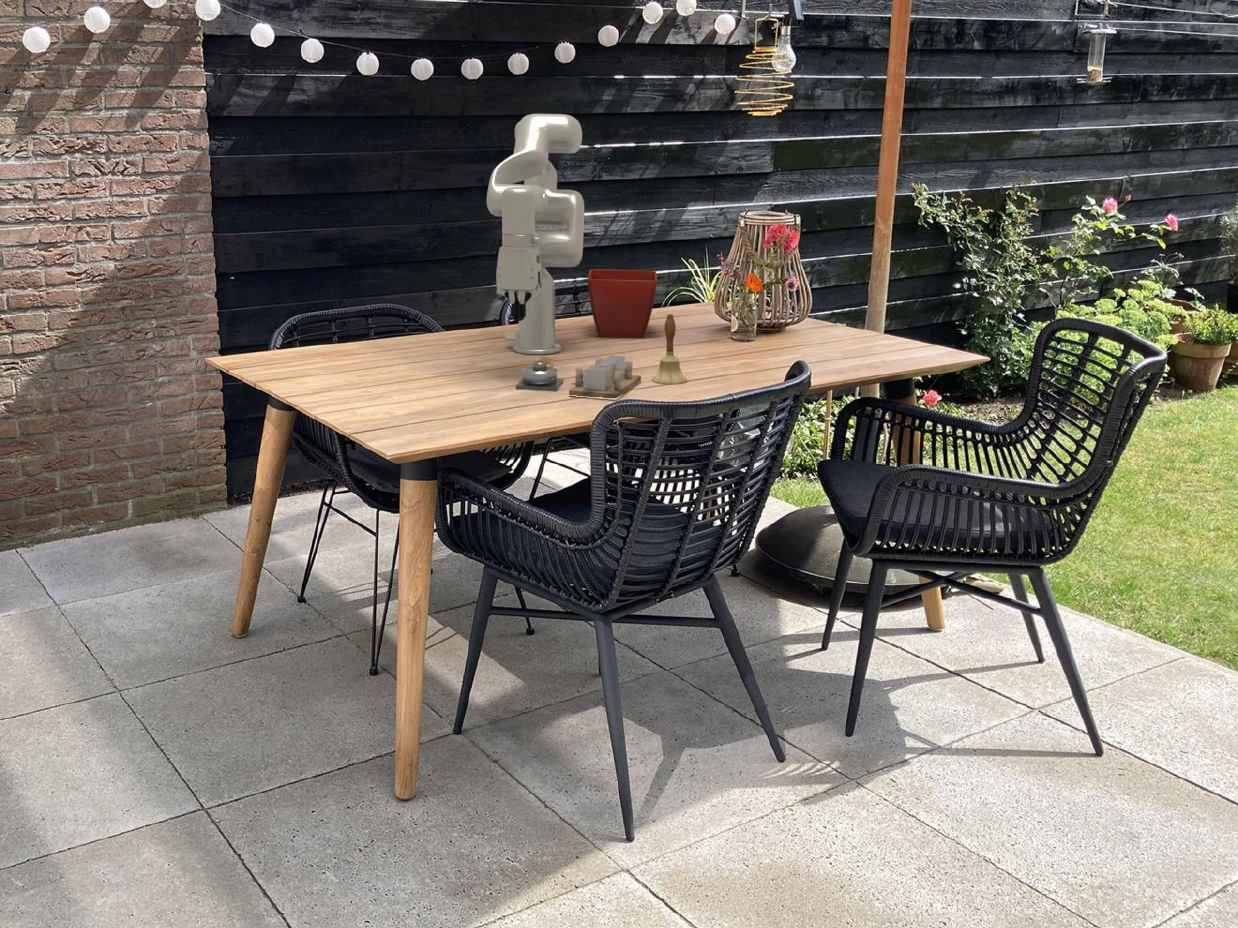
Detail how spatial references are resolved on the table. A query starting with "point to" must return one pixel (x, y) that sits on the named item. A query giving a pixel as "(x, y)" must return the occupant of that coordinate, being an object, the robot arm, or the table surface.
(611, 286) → the plant pot
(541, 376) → the domed call bell
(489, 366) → the table surface
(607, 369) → the grey joined blocks
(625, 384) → the rack
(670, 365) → the hand bell
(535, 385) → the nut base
